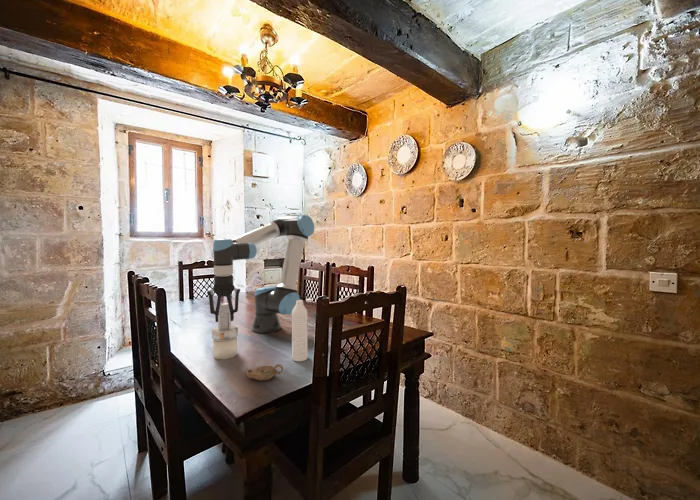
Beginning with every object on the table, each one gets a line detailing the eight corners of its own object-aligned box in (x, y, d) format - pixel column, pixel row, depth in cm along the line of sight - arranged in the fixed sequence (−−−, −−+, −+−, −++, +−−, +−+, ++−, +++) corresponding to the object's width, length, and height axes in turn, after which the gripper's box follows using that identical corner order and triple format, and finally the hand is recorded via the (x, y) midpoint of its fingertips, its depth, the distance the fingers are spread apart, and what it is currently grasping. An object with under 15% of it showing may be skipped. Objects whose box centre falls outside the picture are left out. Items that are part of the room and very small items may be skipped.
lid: (214, 333, 137) (214, 302, 136) (239, 331, 139) (238, 301, 138) (208, 342, 125) (207, 308, 124) (235, 340, 127) (234, 307, 126)
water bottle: (294, 363, 125) (294, 302, 124) (290, 357, 131) (289, 299, 130) (314, 359, 129) (314, 300, 128) (309, 353, 135) (309, 297, 134)
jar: (238, 349, 139) (237, 332, 139) (236, 358, 130) (235, 339, 130) (215, 351, 137) (215, 334, 136) (211, 360, 128) (211, 341, 127)
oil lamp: (243, 382, 109) (243, 369, 109) (250, 373, 117) (250, 360, 116) (280, 383, 109) (280, 369, 109) (285, 373, 116) (285, 360, 116)
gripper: (244, 273, 137) (245, 324, 139) (204, 274, 133) (205, 327, 134) (243, 275, 130) (244, 329, 132) (200, 276, 126) (202, 333, 127)
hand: (224, 328), depth 133 cm, fingers closed on lid, 3 cm apart
